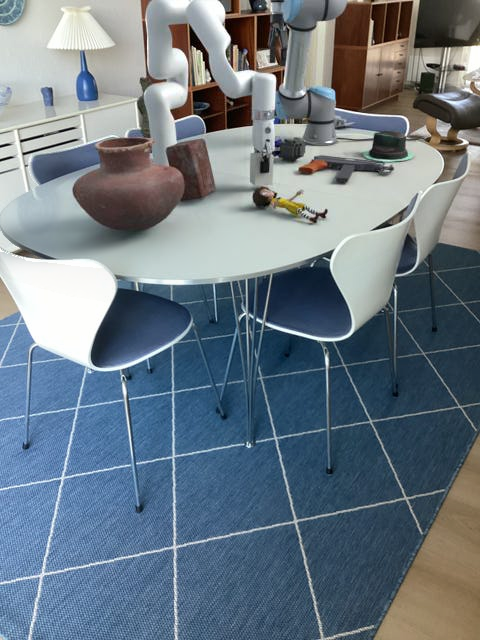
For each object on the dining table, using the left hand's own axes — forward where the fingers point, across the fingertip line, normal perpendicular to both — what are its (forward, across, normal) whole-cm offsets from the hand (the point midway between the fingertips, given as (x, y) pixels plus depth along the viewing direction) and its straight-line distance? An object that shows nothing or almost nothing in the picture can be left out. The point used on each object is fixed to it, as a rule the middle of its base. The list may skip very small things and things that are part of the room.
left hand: (261, 169), depth 190 cm
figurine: (+6, -27, +1) cm, 28 cm away
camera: (+7, +82, -69) cm, 108 cm away
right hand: (-21, +90, -39) cm, 101 cm away
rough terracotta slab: (+8, +8, +35) cm, 36 cm away
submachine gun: (+6, +5, -35) cm, 36 cm away
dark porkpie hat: (+6, +23, -63) cm, 68 cm away
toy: (+7, +32, -22) cm, 39 cm away
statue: (+9, +70, +25) cm, 75 cm away
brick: (+5, 0, 0) cm, 5 cm away
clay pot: (+7, -24, +47) cm, 53 cm away
